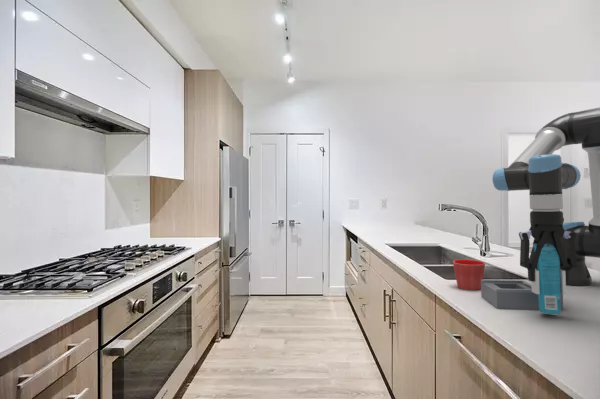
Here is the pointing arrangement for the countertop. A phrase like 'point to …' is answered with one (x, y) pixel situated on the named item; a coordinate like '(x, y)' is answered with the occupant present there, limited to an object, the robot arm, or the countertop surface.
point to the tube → (549, 280)
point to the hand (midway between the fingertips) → (548, 292)
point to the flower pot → (469, 273)
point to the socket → (510, 294)
